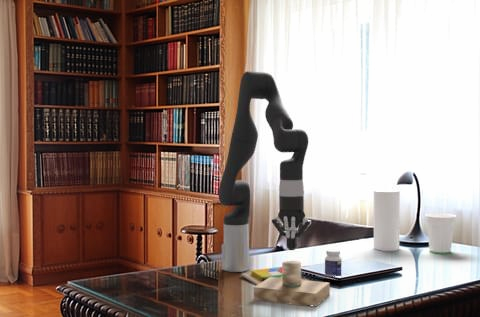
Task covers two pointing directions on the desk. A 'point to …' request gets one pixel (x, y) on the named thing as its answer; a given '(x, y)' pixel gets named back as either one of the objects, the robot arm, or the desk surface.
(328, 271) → the pill bottle
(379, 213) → the tall pillar cylinder
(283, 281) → the maple peg
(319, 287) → the oak board
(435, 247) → the cup
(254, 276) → the wooden puzzle
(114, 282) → the desk surface
